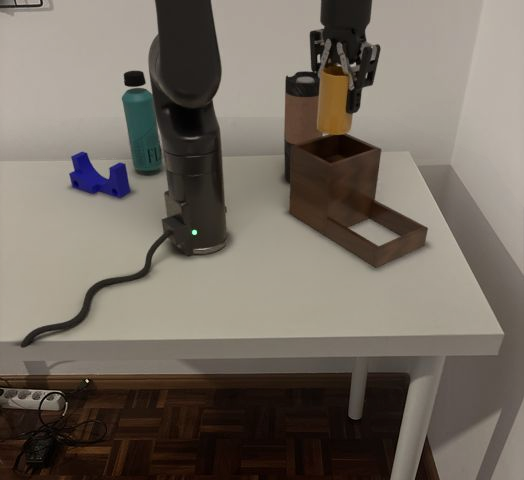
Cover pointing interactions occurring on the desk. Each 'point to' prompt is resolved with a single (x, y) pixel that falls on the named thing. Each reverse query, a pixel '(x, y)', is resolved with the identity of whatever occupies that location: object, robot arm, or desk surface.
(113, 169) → the blue curved bracket
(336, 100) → the cup
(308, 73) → the travel mug
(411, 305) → the desk surface
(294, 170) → the organizer
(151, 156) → the beverage bottle
